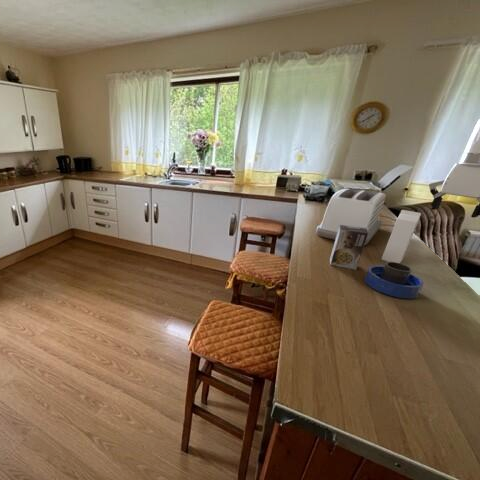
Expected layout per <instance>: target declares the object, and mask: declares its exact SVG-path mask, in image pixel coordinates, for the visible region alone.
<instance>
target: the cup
mask: <svg viewBox="0 0 480 480" xmlns="http://www.w3.org/2000/svg"><path fill="white" fill-rule="evenodd" d="M383 266H384V269H383V271H382V274H381V276H380V278H381V279H384V280H386V281H389V282H392V283H395V284H400V285H406V282H407V280H408V278H409V276H410V274H412V270H413V269H412V268H411V266H408V265H406V264H403V263H401V262H400V263H396V262H388V261H385V263H384V265H383Z"/></svg>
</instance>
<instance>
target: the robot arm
mask: <svg viewBox="0 0 480 480" xmlns="http://www.w3.org/2000/svg"><path fill="white" fill-rule="evenodd" d="M428 186H429V192H430V194H431V195H432V197H433V200H432V202H431V204H430V208H431V210H432V211H435V210H438V209H440V206H441V203H442V201H443V196H446V195H450V196H457V197H462V198H463V197H464V198H469V199H470V198H471V199H476V200H477V202H478V204H476V205H475V207H474V209H473V211H472V213H471V215H470V218H473V219H474V218H478V217H479V216H480V118H479V119H477V122H476V123H475V126H474V128H473V130H472V132H471V135H470V136H469V139H468V141H467V144H466V145H465V148H464V150H463V152H462V155H461V158H460V159H459V161H458V162H456V163H454V165H453V166H452V168H451V169H450V171H449V172H448V173H447V176H446V177H445V179H444V180H440V181H435V182H432V183H429V184H428ZM437 186H441V187H440V191H439V190H438V189H437Z"/></svg>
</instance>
